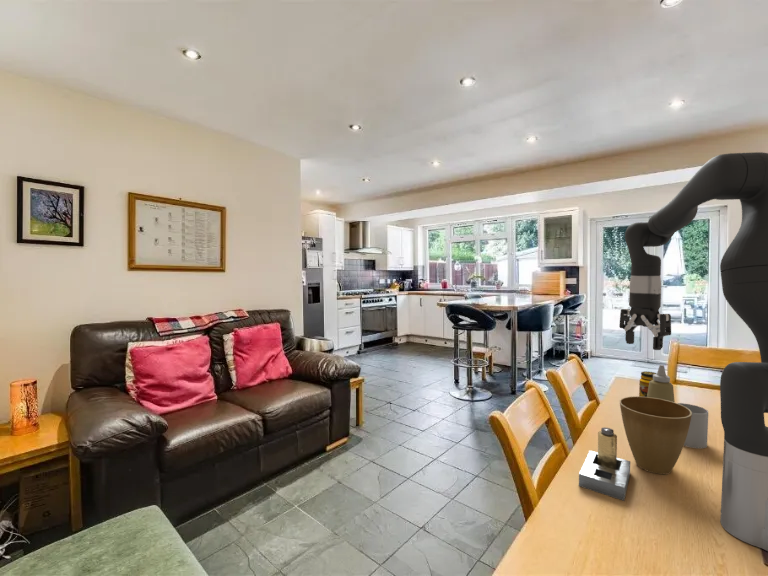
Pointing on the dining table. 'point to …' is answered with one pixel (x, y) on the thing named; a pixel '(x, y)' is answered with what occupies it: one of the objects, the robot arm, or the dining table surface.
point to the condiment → (645, 383)
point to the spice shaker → (607, 448)
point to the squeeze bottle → (661, 386)
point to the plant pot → (655, 431)
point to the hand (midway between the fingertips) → (643, 346)
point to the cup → (697, 427)
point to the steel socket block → (605, 476)
